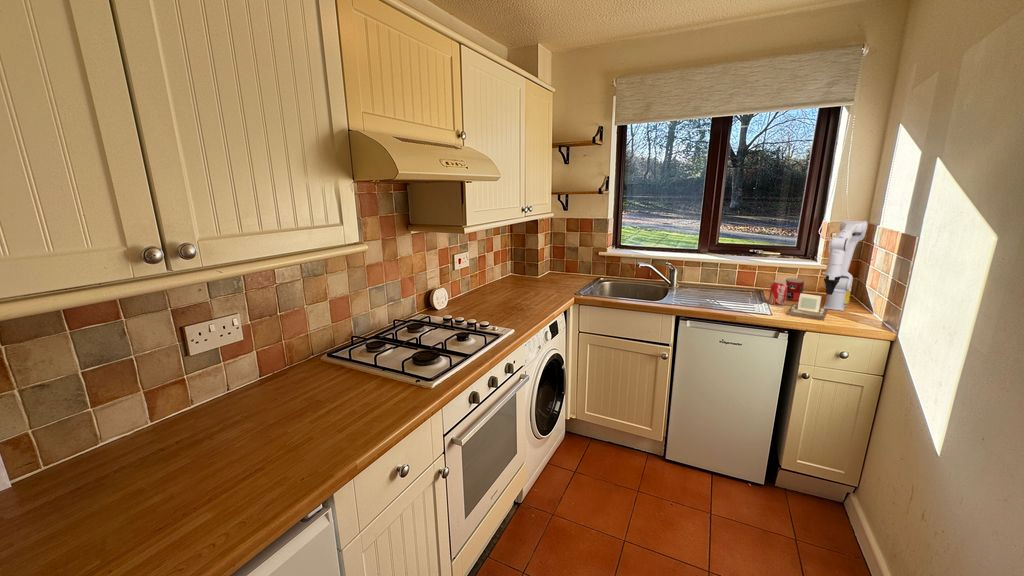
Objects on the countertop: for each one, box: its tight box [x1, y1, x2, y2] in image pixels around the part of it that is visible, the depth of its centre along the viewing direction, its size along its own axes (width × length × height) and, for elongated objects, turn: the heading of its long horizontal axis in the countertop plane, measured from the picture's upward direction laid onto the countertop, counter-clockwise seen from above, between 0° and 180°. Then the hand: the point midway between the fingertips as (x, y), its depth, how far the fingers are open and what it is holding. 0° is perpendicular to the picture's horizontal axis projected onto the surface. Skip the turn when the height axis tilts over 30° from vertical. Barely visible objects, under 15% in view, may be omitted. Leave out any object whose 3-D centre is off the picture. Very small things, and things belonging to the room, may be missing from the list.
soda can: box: [768, 280, 788, 307], centre depth 210 cm, size 7×7×12 cm
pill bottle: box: [844, 288, 852, 307], centre depth 209 cm, size 6×6×12 cm
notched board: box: [786, 303, 829, 322], centre depth 197 cm, size 20×14×2 cm
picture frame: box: [797, 292, 822, 312], centre depth 195 cm, size 5×8×8 cm, turn 49°
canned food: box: [785, 277, 805, 303], centre depth 218 cm, size 8×8×11 cm
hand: (829, 292), depth 192 cm, fingers open, 7 cm apart
